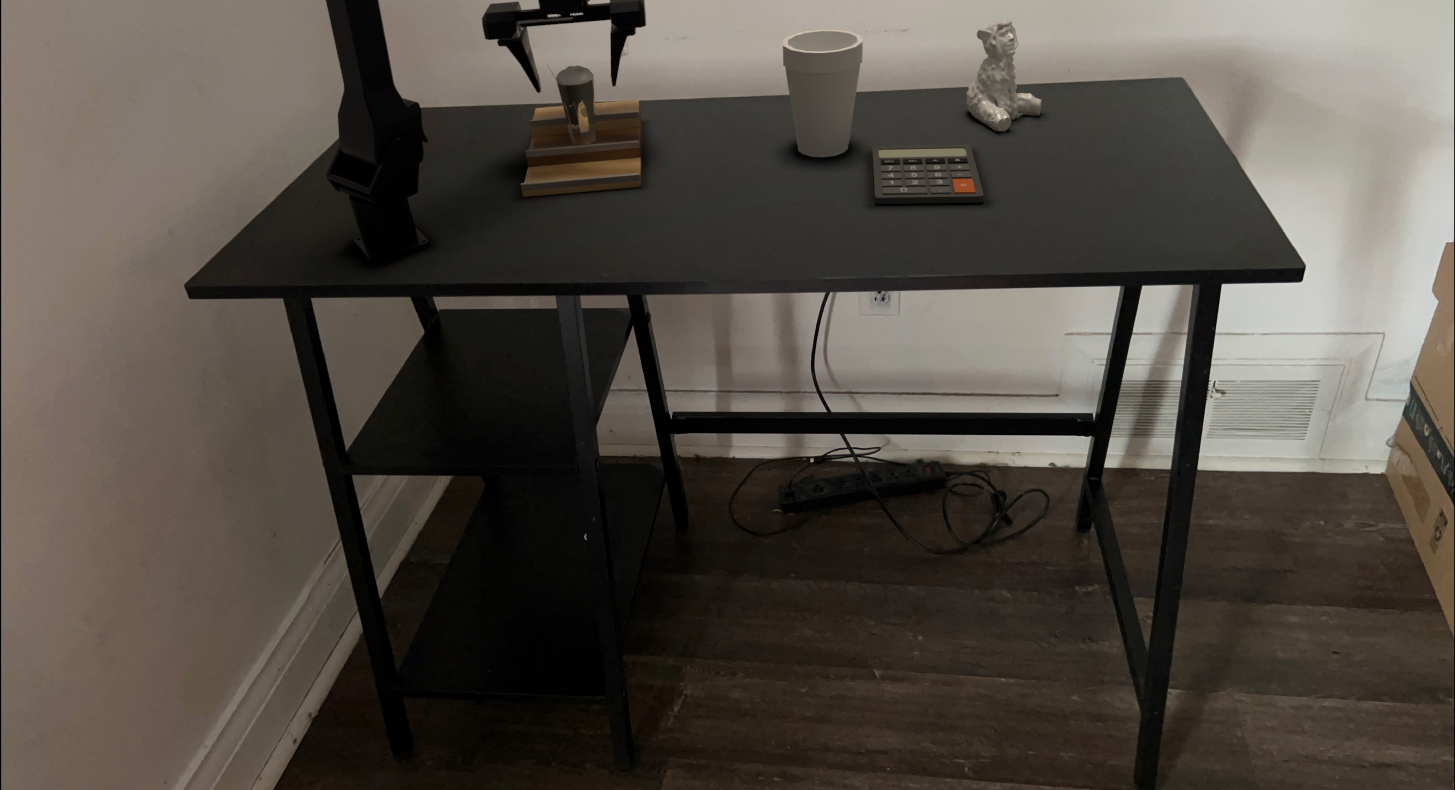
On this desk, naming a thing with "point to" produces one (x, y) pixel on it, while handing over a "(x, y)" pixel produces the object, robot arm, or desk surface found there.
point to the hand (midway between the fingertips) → (576, 88)
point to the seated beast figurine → (999, 81)
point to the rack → (584, 152)
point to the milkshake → (578, 103)
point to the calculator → (925, 174)
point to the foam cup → (822, 88)
